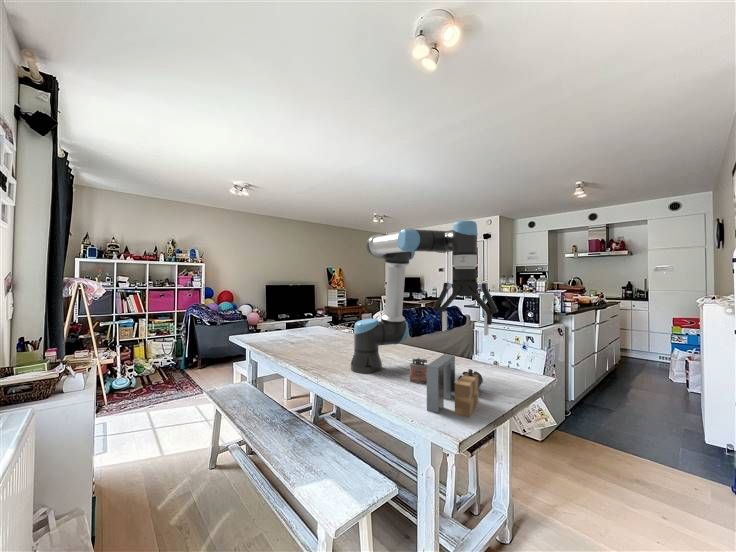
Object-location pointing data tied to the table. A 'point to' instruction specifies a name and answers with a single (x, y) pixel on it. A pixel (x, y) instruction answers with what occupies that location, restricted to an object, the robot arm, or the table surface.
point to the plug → (466, 394)
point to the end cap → (475, 374)
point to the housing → (440, 382)
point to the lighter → (418, 371)
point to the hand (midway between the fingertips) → (464, 332)
